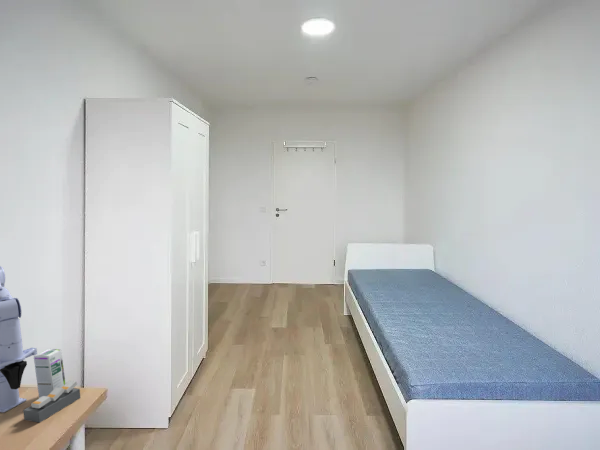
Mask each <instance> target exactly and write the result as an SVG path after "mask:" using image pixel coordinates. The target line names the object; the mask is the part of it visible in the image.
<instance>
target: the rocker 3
mask: <svg viewBox="0 0 600 450" xmlns="http://www.w3.org/2000/svg"><path fill="white" fill-rule="evenodd" d="M76 386H78V383H77V381H76V380H68V381H67V382H65V385H64V386H63V387H61V388H63V389H64V392H63V393H69V392H70V391H71V390H72V389H73V388H75V387H76Z"/></svg>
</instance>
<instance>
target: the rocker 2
mask: <svg viewBox="0 0 600 450" xmlns="http://www.w3.org/2000/svg"><path fill="white" fill-rule="evenodd" d="M63 392H64V389H63V388H58V387H56V388H55V389H54V390H53V391H52V392H51V393H50V394H49V395H48V396H47V397H50V399H51V401H55V400H56V399H57V398H58V397H59V396H60V395H61V394H62V393H63Z"/></svg>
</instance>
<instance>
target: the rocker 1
mask: <svg viewBox="0 0 600 450" xmlns="http://www.w3.org/2000/svg"><path fill="white" fill-rule="evenodd" d="M50 401H51V399H50V397H47V396H42V397H41V398H39V397H38V399H36V400H35V401H33V402H31V403H30V404H31V405H30V406H32V407H33V408H41V407H42V406H44V405H45V404H47V403H48V402H50Z"/></svg>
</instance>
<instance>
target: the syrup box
mask: <svg viewBox="0 0 600 450" xmlns="http://www.w3.org/2000/svg"><path fill="white" fill-rule="evenodd" d="M62 353H63V352H62V349H57V348H50V349H49V348H47V349H45V350H44V351H42V352H39V353H37V354H36V355H33V362H34V368H35V369H34V370H35V377H36V384H37V392H38V399H39V398H41V397H42V396H48V395H49V394H50V393H51V392H52V391H53V390H54V389H55V388H56V387H58V388H61V387H63V386H64V385H65V384H66V378H65V370H64V360H63V354H62Z"/></svg>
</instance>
